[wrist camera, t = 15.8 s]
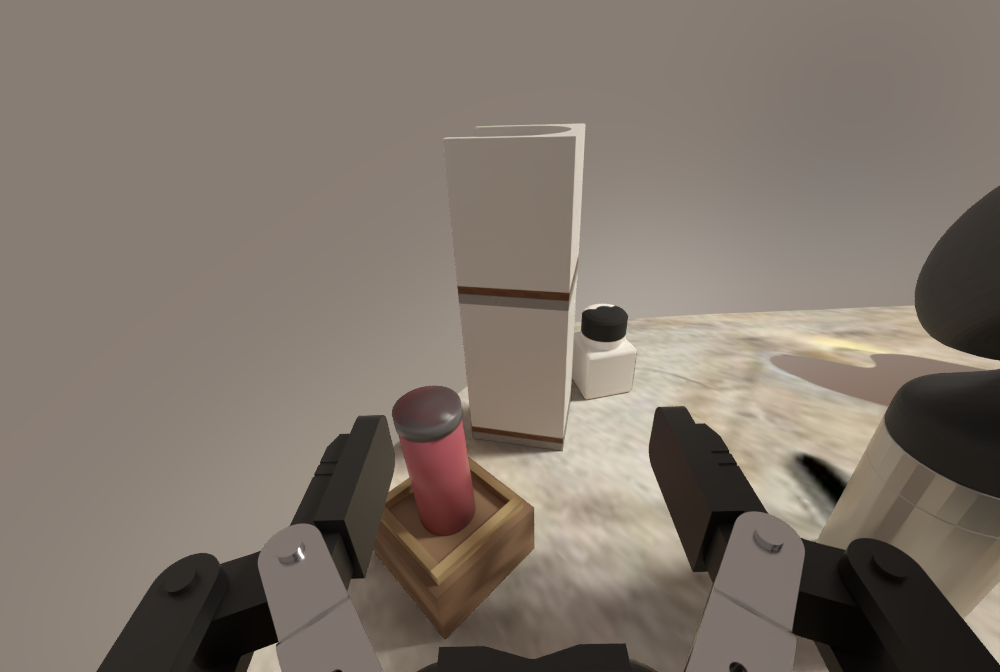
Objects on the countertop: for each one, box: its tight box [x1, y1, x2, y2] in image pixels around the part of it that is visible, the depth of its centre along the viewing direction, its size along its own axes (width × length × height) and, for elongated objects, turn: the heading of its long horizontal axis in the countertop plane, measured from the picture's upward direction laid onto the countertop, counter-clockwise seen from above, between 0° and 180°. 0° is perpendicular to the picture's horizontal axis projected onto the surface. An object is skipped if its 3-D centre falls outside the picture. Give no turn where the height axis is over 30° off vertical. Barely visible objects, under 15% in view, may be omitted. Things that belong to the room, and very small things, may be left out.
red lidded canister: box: [392, 386, 476, 535], centre depth 36 cm, size 5×5×12 cm
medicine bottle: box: [572, 304, 637, 400], centre depth 61 cm, size 7×7×12 cm
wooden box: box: [373, 457, 534, 639], centre depth 40 cm, size 11×11×7 cm
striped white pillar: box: [443, 124, 585, 451], centre depth 49 cm, size 11×11×35 cm
